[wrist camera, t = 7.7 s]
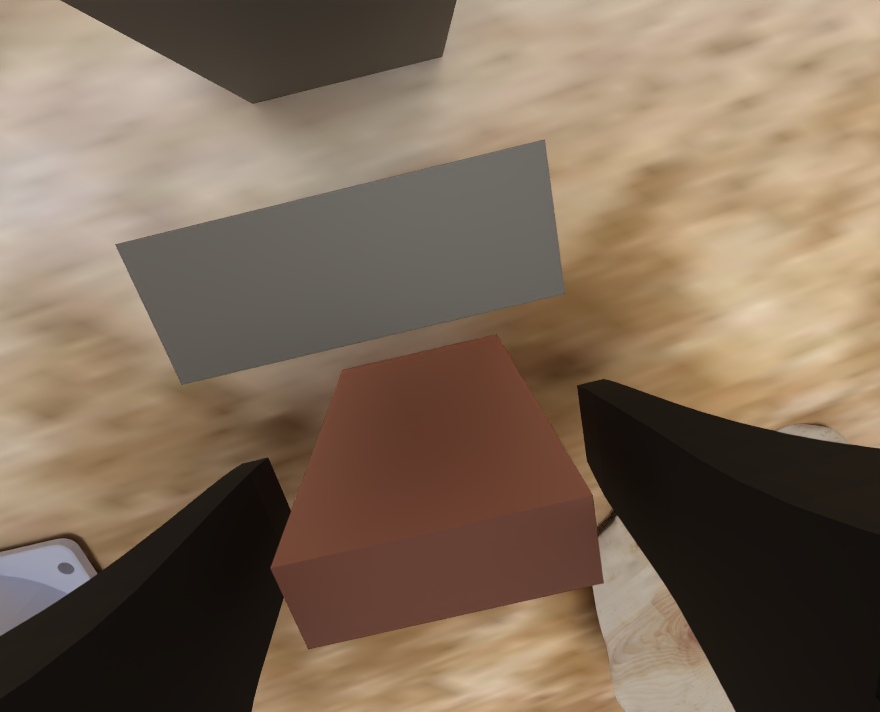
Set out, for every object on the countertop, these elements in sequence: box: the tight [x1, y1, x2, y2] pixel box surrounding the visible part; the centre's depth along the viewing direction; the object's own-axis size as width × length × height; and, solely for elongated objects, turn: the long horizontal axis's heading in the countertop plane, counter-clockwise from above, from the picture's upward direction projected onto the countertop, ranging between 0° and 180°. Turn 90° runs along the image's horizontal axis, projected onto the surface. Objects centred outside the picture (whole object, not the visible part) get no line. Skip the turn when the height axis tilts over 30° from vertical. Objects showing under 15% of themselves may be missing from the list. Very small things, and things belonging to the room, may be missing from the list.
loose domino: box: [271, 334, 604, 649], centre depth 11 cm, size 2×5×8 cm, turn 103°
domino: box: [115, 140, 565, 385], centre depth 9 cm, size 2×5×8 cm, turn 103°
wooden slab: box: [593, 424, 852, 712], centre depth 17 cm, size 11×4×12 cm
